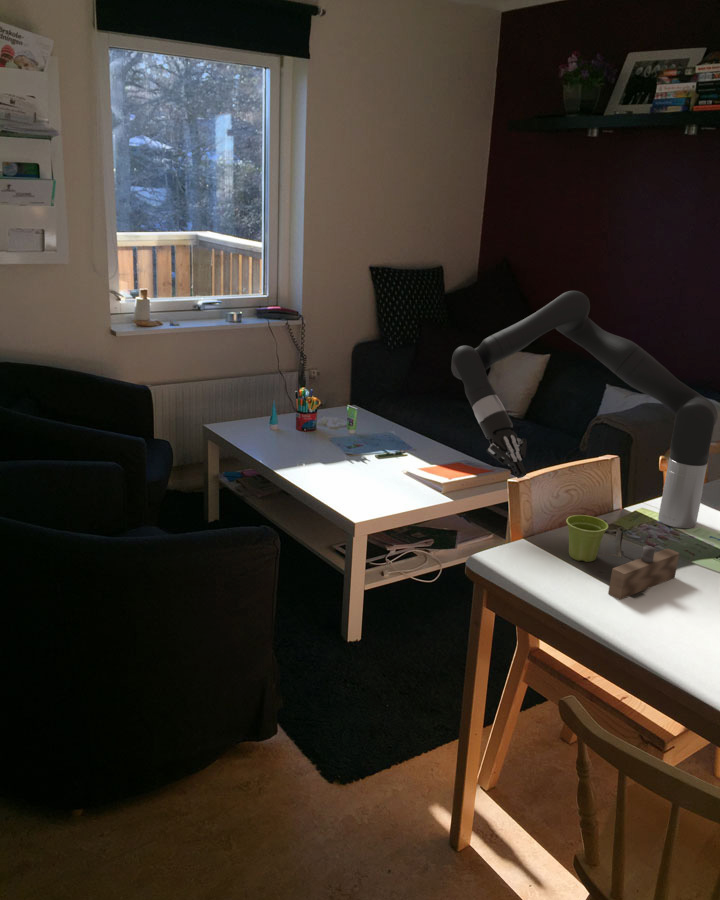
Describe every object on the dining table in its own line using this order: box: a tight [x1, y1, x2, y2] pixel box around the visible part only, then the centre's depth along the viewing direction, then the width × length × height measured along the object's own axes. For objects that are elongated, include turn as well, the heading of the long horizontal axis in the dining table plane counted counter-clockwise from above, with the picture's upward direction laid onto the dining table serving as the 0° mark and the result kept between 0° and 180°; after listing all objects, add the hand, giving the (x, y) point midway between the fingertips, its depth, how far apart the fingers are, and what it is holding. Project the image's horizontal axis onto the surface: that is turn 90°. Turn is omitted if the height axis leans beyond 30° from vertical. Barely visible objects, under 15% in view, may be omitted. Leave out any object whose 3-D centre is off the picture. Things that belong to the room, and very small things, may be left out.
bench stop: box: [607, 545, 680, 600], centre depth 174 cm, size 20×3×9 cm, turn 126°
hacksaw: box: [597, 519, 635, 561], centre depth 197 cm, size 24×10×2 cm, turn 160°
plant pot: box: [565, 514, 609, 563], centre depth 187 cm, size 9×9×9 cm
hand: (522, 476), depth 200 cm, fingers closed
